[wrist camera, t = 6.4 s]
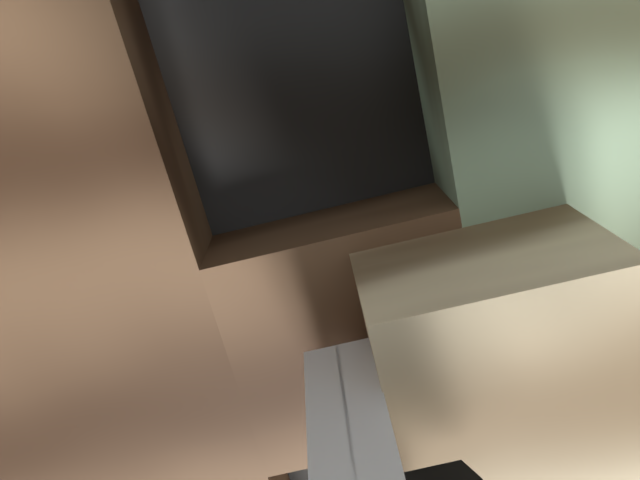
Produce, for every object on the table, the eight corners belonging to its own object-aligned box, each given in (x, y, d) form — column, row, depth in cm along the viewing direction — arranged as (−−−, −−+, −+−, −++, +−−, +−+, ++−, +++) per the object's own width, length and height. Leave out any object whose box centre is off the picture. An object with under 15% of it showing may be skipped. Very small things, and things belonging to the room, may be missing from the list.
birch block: (348, 253, 14) (367, 326, 10) (567, 203, 13) (656, 261, 10) (389, 431, 15) (416, 543, 12) (583, 389, 15) (665, 490, 12)
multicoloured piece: (-153, 26, 14) (-340, 26, 10) (637, -178, 14) (794, -273, 9) (129, 615, 21) (88, 763, 17) (667, 499, 20) (766, 624, 16)
